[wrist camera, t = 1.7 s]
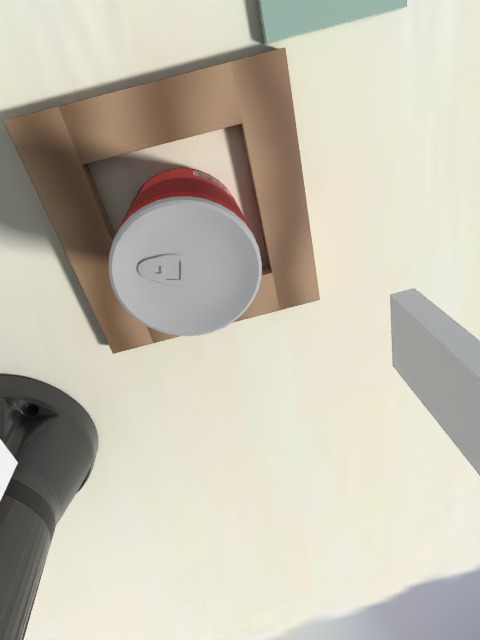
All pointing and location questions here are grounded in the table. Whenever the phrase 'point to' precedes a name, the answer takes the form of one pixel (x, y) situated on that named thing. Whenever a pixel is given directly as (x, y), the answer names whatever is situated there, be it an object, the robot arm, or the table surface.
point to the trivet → (316, 15)
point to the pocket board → (159, 128)
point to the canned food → (185, 255)
